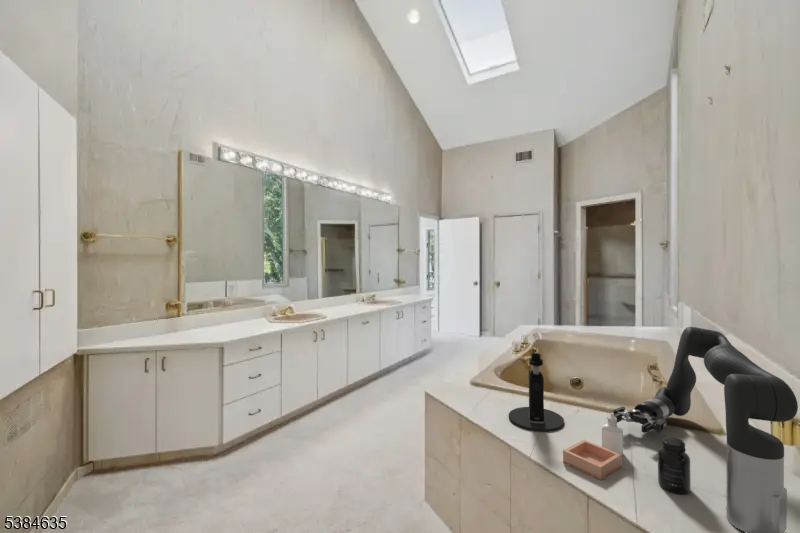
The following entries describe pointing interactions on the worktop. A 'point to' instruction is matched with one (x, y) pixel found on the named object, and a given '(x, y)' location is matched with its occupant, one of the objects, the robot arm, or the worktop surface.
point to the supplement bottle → (674, 466)
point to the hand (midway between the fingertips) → (628, 424)
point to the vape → (536, 404)
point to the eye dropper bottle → (612, 435)
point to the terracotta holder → (592, 459)
